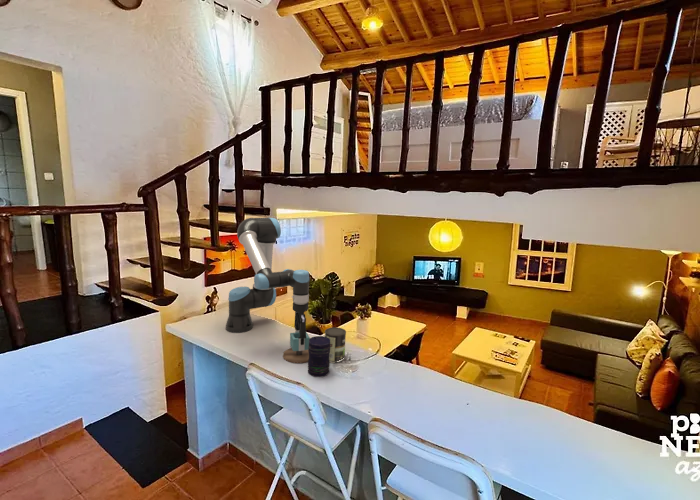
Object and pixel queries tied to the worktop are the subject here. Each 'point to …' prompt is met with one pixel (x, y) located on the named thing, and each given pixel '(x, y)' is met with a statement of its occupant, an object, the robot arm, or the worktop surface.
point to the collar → (295, 341)
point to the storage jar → (318, 356)
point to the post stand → (296, 356)
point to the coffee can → (336, 343)
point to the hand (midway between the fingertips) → (299, 346)
